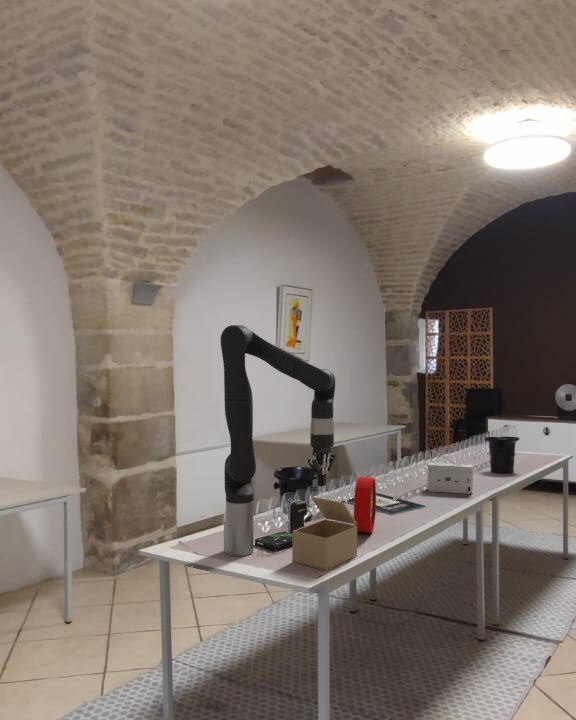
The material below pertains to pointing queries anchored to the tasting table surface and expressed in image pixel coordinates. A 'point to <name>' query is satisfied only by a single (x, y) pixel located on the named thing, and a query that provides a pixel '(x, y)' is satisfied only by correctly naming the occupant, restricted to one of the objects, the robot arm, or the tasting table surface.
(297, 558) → the carton
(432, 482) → the stereo radio cassette player
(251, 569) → the tasting table surface
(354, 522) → the carton flap
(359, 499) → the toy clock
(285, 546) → the disk drive
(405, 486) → the tasting table surface
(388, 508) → the sketchbook
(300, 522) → the battery
